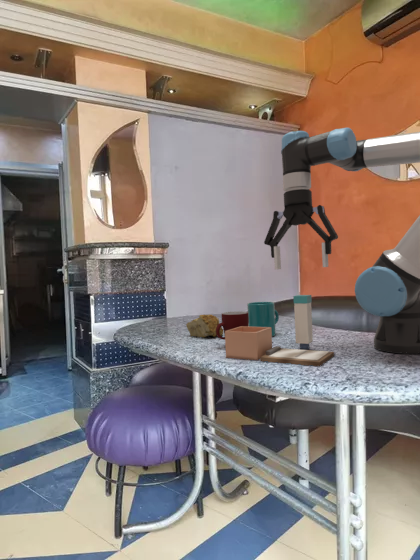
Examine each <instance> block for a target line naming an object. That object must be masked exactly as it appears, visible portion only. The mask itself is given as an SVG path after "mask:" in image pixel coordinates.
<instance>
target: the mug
mask: <svg viewBox="0 0 420 560" xmlns="http://www.w3.org/2000/svg"><path fill="white" fill-rule="evenodd" d="M248 323H249V316H248V311H243V310H241V311H240V310H239V311H226V312H222V313H221V322H219V324H218V325H217V327H216V335H217V336H216V338H217V337H218V339H220V340H224V341H225V331H227V330H230V329H234V328H237V327H240V326H248ZM221 327H222V329H223V334H224V336H220V333H219V331H220V328H221Z"/></svg>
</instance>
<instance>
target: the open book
mask: <svg viewBox="0 0 420 560" xmlns="http://www.w3.org/2000/svg"><path fill="white" fill-rule="evenodd" d="M333 357H335V351H329V350H328V351H326V350H314V349H312V350H310V349H309V350H300V348H299V349H298V348H286V347H285V348H284V347H283V348H282V347H281V346H280V345H279V346H278V345H277V346H274V347H272V349H269V350H267V351H266V355H264V356H261V357H260V360H259V361H260V362H264V361H268V362H267V363H275V362H278V363H279V364H286V363H291V364H290V365H298V364H301V365H300V366H309V365H313V366H312V367H321V366H323V363H324V364H325V363H326V362H328V361H329V360H331V358H333ZM320 365H321V366H320Z"/></svg>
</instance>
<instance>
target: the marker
mask: <svg viewBox="0 0 420 560" xmlns="http://www.w3.org/2000/svg"><path fill="white" fill-rule="evenodd" d="M312 300H313V299H312V294H296V295H293V304H294V305H293V307H294V329H295V330H294V331H295V333H294V334H295V335H294V336H295V344H299V349H300V350H310V344H311V343H313V342H314V340H313V339H314V337H313V336H314V335H313V316H312V315H313V314H312V302H313V301H312Z"/></svg>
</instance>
